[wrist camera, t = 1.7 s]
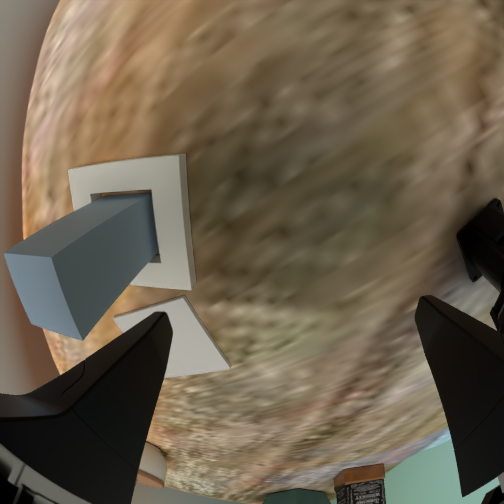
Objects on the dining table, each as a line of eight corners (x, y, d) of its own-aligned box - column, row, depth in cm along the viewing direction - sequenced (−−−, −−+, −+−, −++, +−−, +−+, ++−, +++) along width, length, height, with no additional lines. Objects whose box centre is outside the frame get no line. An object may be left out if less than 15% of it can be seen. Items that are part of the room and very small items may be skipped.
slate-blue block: (153, 192, 21) (51, 257, 10) (160, 249, 23) (82, 340, 12) (105, 195, 21) (3, 253, 10) (114, 247, 23) (31, 323, 12)
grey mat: (184, 294, 24) (183, 298, 24) (231, 365, 28) (230, 368, 28) (114, 315, 27) (112, 318, 26) (162, 375, 30) (160, 378, 30)
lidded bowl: (171, 446, 42) (157, 489, 32) (174, 462, 48) (164, 498, 38) (115, 426, 42) (98, 465, 32) (126, 446, 48) (113, 479, 38)
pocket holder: (185, 153, 19) (178, 155, 18) (196, 281, 24) (191, 290, 22) (78, 166, 20) (68, 169, 19) (98, 272, 25) (90, 280, 23)
